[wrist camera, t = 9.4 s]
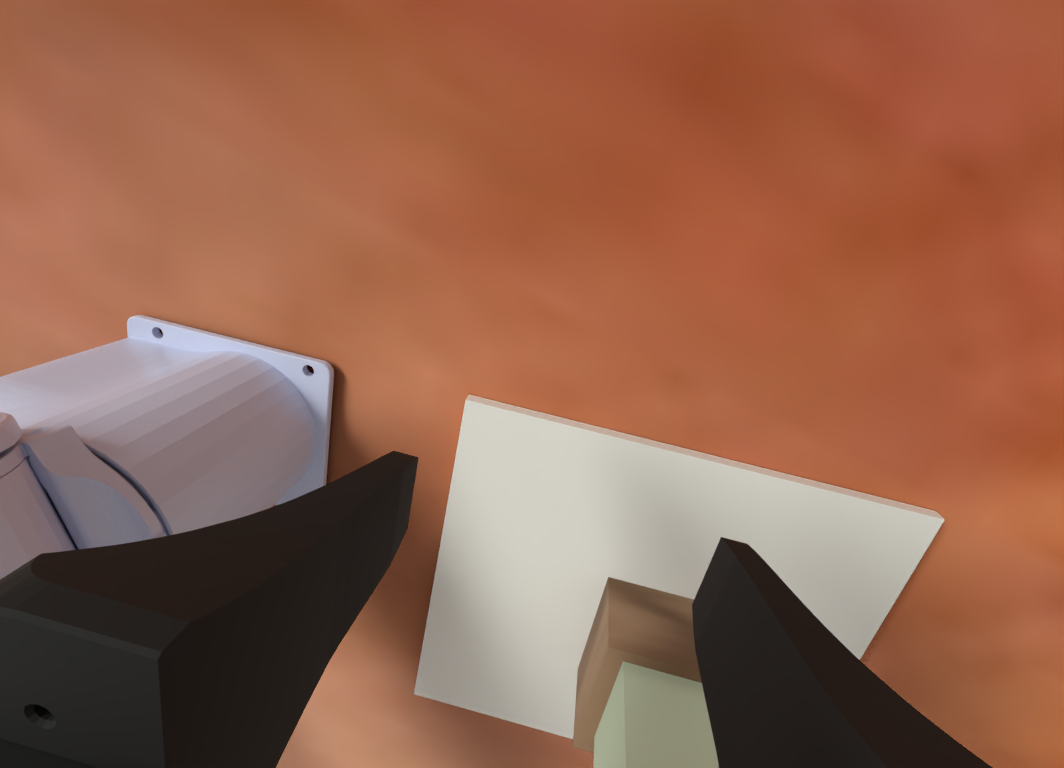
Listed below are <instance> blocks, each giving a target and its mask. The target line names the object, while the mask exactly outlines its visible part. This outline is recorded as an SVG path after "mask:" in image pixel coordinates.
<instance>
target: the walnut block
mask: <svg viewBox="0 0 1064 768" xmlns="http://www.w3.org/2000/svg"><path fill="white" fill-rule="evenodd" d="M693 601H694V599H690V598H686V597H682V596H679V595H675V594H671V593H667V592H664V591H660V590H656V589H652V588H649V587H645V586H641V585H637V584H633V583H630V582H626V581H622V580H618V579H615V578H611V577H608V579H607V582H606V585H605V588H604V591H603V594H602V597H601V600H600V603H599V606H598V609H597V612H596V615H595V618H594V621H593V624H592V627H591V630H590V633H589V636H588V639H587V642H586V645H585V648H584V651H583V654H582V657H581V660H580V663H579V666H578V672H577V687H576V703H575V719H574V734H573V747H574V748H578V749H581V750H585V751H588V752H592V753H594V736H595V734H596V731H597V728H598V726H599V723H600V721H601V718H602V715H603V713H604V710H605V707H606V705H607V702H608V699H609V697H610V694H611V692H612V689H613V686H614V684H615V681H616V678H617V676H618V673H619V671H620V668H621V665H622V663H623V661H624V662H627V663H631V664H634V665H638V666H642V667H645V668H649V669H653V670H656V671H660V672H663V673H667V674H671V675H674V676H678V677H682V678H685V679H689V680H692V681H696V682H700V683H702V681H701V676H700V671H699V666H698V661H697V656H696V651H695V643H694V632H693V615H692V604H693Z"/></svg>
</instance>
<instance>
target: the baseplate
mask: <svg viewBox="0 0 1064 768" xmlns="http://www.w3.org/2000/svg"><path fill="white" fill-rule="evenodd" d="M944 520H945V519H944V518H943V517H942V516H941V515H940V514H939V513H938V512H937V511H934V510H930V509H926V508H922V507H918V506H914V505H910V504H906V503H902V502H898V501H894V500H890V499H886V498H882V497H878V496H874V495H870V494H866V493H862V492H858V491H854V490H850V489H846V488H842V487H838V486H834V485H830V484H826V483H822V482H818V481H814V480H810V479H806V478H802V477H798V476H794V475H790V474H786V473H782V472H778V471H774V470H770V469H766V468H762V467H758V466H754V465H750V464H746V463H742V462H738V461H734V460H730V459H726V458H722V457H718V456H714V455H710V454H706V453H702V452H698V451H694V450H690V449H686V448H682V447H678V446H674V445H670V444H666V443H662V442H658V441H654V440H650V439H646V438H642V437H638V436H634V435H630V434H626V433H622V432H618V431H614V430H610V429H606V428H602V427H598V426H594V425H590V424H586V423H582V422H578V421H574V420H570V419H566V418H562V417H558V416H554V415H550V414H546V413H542V412H538V411H534V410H530V409H526V408H522V407H518V406H514V405H510V404H506V403H502V402H498V401H494V400H490V399H486V398H482V397H478V396H474V395H470V394H469V396H468V397H467V398H466V401H465V407H464V412H463V418H462V424H461V429H460V435H459V441H458V446H457V452H456V458H455V463H454V469H453V475H452V480H451V486H450V492H449V498H448V503H447V509H446V515H445V520H444V526H443V532H442V537H441V543H440V549H439V554H438V560H437V566H436V571H435V577H434V583H433V588H432V594H431V600H430V605H429V611H428V617H427V622H426V628H425V634H424V639H423V645H422V651H421V656H420V662H419V668H418V673H417V679H416V685H415V690H414V694H415V695H419V696H422V697H426V698H429V699H433V700H436V701H440V702H443V703H447V704H450V705H454V706H457V707H461V708H464V709H468V710H471V711H475V712H479V713H482V714H486V715H489V716H493V717H496V718H500V719H503V720H507V721H510V722H514V723H517V724H521V725H524V726H528V727H531V728H535V729H539V730H542V731H546V732H549V733H553V734H556V735H560V736H563V737H567V738H570V739H573V734H574V719H575V703H576V687H577V672H578V666H579V663H580V660H581V657H582V654H583V651H584V648H585V645H586V642H587V639H588V636H589V633H590V630H591V627H592V624H593V621H594V618H595V615H596V612H597V609H598V606H599V603H600V600H601V597H602V594H603V591H604V588H605V585H606V582H607V579H608V577H611V578H615V579H618V580H622V581H626V582H630V583H633V584H637V585H641V586H645V587H649V588H652V589H656V590H660V591H664V592H667V593H671V594H675V595H679V596H682V597H686V598H690V599H695V597H696V594H697V592H698V590H699V587H700V585H701V583H702V580H703V578H704V576H705V573H706V571H707V569H708V566H709V564H710V562H711V559H712V557H713V555H714V552H715V550H716V548H717V545H718V543H719V541H720V538H721V537H723V538H727V539H731V540H735V541H739V542H742V543H746V544H748V545H749V546H750V547H752V548H753V549H754V550H755V551H756V552H757V553H758V554H759V556H760V557H761V558H762V559H763V560H764V561H765V562H766V563H767V564H768V565H769V566H770V567H771V568H772V570H773V571H774V572H775V573H776V574H777V575H778V576H779V577H780V578H781V579H782V581H783V582H784V583H785V584H786V585H787V586H788V587H789V588H790V589H791V590H792V592H793V593H794V594H795V595H796V596H797V597H798V598H799V599H800V600H801V601H802V602H803V604H804V605H805V606H806V607H807V608H808V609H809V610H810V611H811V612H812V613H813V614H814V615H815V616H816V617H817V618H818V620H819V621H820V622H821V623H822V624H823V625H824V626H825V627H826V628H827V629H828V630H829V631H830V632H831V633H832V634H833V635H834V636H835V637H836V638H837V639H838V640H839V641H840V642H841V643H842V644H843V645H844V646H845V647H846V648H847V649H848V650H849V651H850V652H851V653H852V654H853V655H854V656H856V657H857V658H858V659H859V660H860V659H861V657H862V655H863V654H864V652H865V650H866V649H867V647H868V645H869V644H870V642H871V641H872V639H873V637H874V636H875V634H876V632H877V631H878V629H879V627H880V626H881V624H882V622H883V621H884V619H885V617H886V616H887V614H888V612H889V611H890V609H891V608H892V606H893V604H894V603H895V601H896V599H897V598H898V596H899V594H900V593H901V591H902V589H903V588H904V586H905V584H906V583H907V581H908V580H909V578H910V576H911V575H912V573H913V571H914V570H915V568H916V566H917V565H918V563H919V561H920V560H921V558H922V556H923V555H924V553H925V552H926V550H927V548H928V547H929V545H930V543H931V542H932V540H933V538H934V537H935V535H936V533H937V532H938V530H939V528H940V527H941V525H942V523H943V522H944Z"/></svg>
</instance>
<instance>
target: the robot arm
mask: <svg viewBox="0 0 1064 768" xmlns="http://www.w3.org/2000/svg"><path fill="white" fill-rule="evenodd" d="M159 328H160V329H161V330H162V332H163V335H162V334H161V333H160V331H159ZM127 332H128V338H125V339H122V340H119V341H116V342H112V343H109V344H106V345H103V346H99V347H96V348H93V349H89V350H86V351H83V352H80V353H76V354H73V355H70V356H67V357H63V358H60V359H57V360H54V361H50V362H47V363H44V364H40V365H37V366H34V367H31V368H27V369H24V370H21V371H18V372H14V373H11V374H8V375H4V376H1V377H0V768H276V766H277V764H278V761H279V759H280V757H281V755H282V753H283V751H284V749H285V747H286V745H287V743H288V741H289V739H290V737H291V735H292V733H293V731H294V729H295V727H296V725H297V723H298V721H299V719H300V717H301V715H302V713H303V711H304V709H305V707H306V705H307V703H308V701H309V699H310V697H311V695H312V693H313V691H314V689H315V687H316V686H317V684H318V682H319V680H320V678H321V676H322V674H323V672H324V670H325V668H326V666H327V664H328V662H329V661H330V659H331V657H332V656H333V654H334V652H335V651H336V649H337V647H338V645H339V644H340V642H341V641H342V639H343V638H344V636H345V635H346V633H347V631H348V630H349V628H350V627H351V625H352V624H353V622H354V621H355V619H356V617H357V616H358V614H359V613H360V611H361V610H362V608H363V607H364V605H365V603H366V602H367V600H368V599H369V597H370V596H371V594H372V593H373V591H374V589H375V588H376V586H377V585H378V583H379V582H380V580H381V578H382V577H383V575H384V574H385V572H386V571H387V569H388V567H389V566H390V564H391V562H392V560H393V558H394V556H395V554H396V552H397V550H398V548H399V545H400V543H401V541H402V539H403V537H404V535H405V532H406V530H407V528H408V521H409V515H410V508H411V502H412V495H413V489H414V483H415V476H416V470H417V463H418V457H415V456H411V455H407V454H403V453H400V452H396V451H393V452H390V453H388V454H386V455H384V456H382V457H380V458H378V459H377V460H375V461H373V462H371V463H369V464H367V465H365V466H363V467H361V468H359V469H357V470H355V471H353V472H351V473H349V474H347V475H345V476H343V477H341V478H339V479H337V480H335V481H333V482H331V483H329V484H327V485H326V479H327V465H328V452H329V438H330V424H331V410H332V396H333V382H334V369H333V368H332V366H331V365H330V364H329V363H328V362H326V361H324V360H320V359H316V358H312V357H308V356H304V355H300V354H296V353H292V352H288V351H284V350H280V349H276V348H272V347H268V346H264V345H260V344H256V343H252V342H248V341H244V340H240V339H236V338H232V337H228V336H224V335H220V334H216V333H212V332H208V331H204V330H200V329H196V328H192V327H188V326H184V325H180V324H176V323H172V322H168V321H164V320H160V319H156V318H152V317H148V316H144V315H136V316H132V317H130V318H129V319H128V321H127ZM308 365H309V366H311V367H312V368H313V369H314V374H313V373H311V372H309V370H308V368H307V366H308ZM273 505H277V506H274V507H272V506H273ZM692 615H693V632H694V643H695V651H696V656H697V661H698V666H699V671H700V676H701V681H702V686H703V691H704V696H705V700H706V705H707V710H708V715H709V719H710V724H711V729H712V734H713V738H714V743H715V748H716V753H717V759H718V765H719V768H992V767H991V766H989V765H988V764H987V763H985V762H984V761H983V760H981V759H980V758H978V757H977V756H976V755H974V754H973V753H972V752H970V751H969V750H967V749H966V748H965V747H963V746H962V745H961V744H959V743H958V742H957V741H956V740H954V739H953V738H952V737H950V736H949V735H948V734H947V733H945V732H944V731H943V730H941V729H940V728H939V727H937V726H936V725H935V724H934V723H932V722H931V721H930V720H928V719H927V718H926V717H925V716H923V715H922V714H921V713H920V712H918V711H917V710H916V709H915V708H914V707H912V706H911V705H910V704H909V703H907V702H906V701H905V700H904V699H903V698H901V697H900V696H899V695H898V694H897V693H896V692H895V691H893V690H892V689H891V688H890V687H889V686H888V685H887V684H885V683H884V682H883V681H882V680H881V679H880V678H879V677H877V676H876V675H875V674H874V673H873V672H872V671H871V670H870V669H868V668H867V667H866V666H865V665H864V664H863V663H862V662H861V661H860V660H859V659H858V658H857V657H856V656H854V655H853V654H852V653H851V652H850V651H849V650H848V649H847V648H846V647H845V646H844V645H843V644H842V643H841V642H840V641H839V640H838V639H837V638H836V637H835V636H834V635H833V634H832V633H831V632H830V631H829V630H828V629H827V628H826V627H825V626H824V625H823V624H822V623H821V622H820V621H819V620H818V618H817V617H816V616H815V615H814V614H813V613H812V612H811V611H810V610H809V609H808V608H807V607H806V606H805V605H804V604H803V602H802V601H801V600H800V599H799V598H798V597H797V596H796V595H795V594H794V593H793V592H792V590H791V589H790V588H789V587H788V586H787V585H786V584H785V583H784V582H783V581H782V579H781V578H780V577H779V576H778V575H777V574H776V573H775V572H774V571H773V570H772V568H771V567H770V566H769V565H768V564H767V563H766V562H765V561H764V560H763V559H762V558H761V557H760V556H759V554H758V553H757V552H756V551H755V550H754V549H753V548H752V547H750V546H749V545H748V544H746V543H742V542H739V541H735V540H731V539H727V538H723V537H721V538H720V541H719V543H718V545H717V548H716V550H715V552H714V555H713V557H712V559H711V562H710V564H709V566H708V569H707V571H706V573H705V576H704V578H703V580H702V583H701V585H700V587H699V590H698V592H697V594H696V597H695V599H694V601H693V604H692Z"/></svg>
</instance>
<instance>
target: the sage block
mask: <svg viewBox="0 0 1064 768" xmlns="http://www.w3.org/2000/svg"><path fill="white" fill-rule="evenodd" d="M594 768H719V765H718V759H717V753H716V748H715V743H714V738H713V734H712V729H711V724H710V719H709V715H708V710H707V705H706V700H705V696H704V691H703V686H702V683H700V682H696V681H692V680H689V679H685V678H682V677H678V676H674V675H671V674H667V673H663V672H660V671H656V670H653V669H649V668H645V667H642V666H638V665H634V664H631V663H627V662H624V661H623V663H622V665H621V668H620V671H619V673H618V676H617V678H616V681H615V684H614V686H613V689H612V692H611V694H610V697H609V699H608V702H607V705H606V707H605V710H604V713H603V715H602V718H601V721H600V723H599V726H598V728H597V731H596V734H595V736H594Z"/></svg>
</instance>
